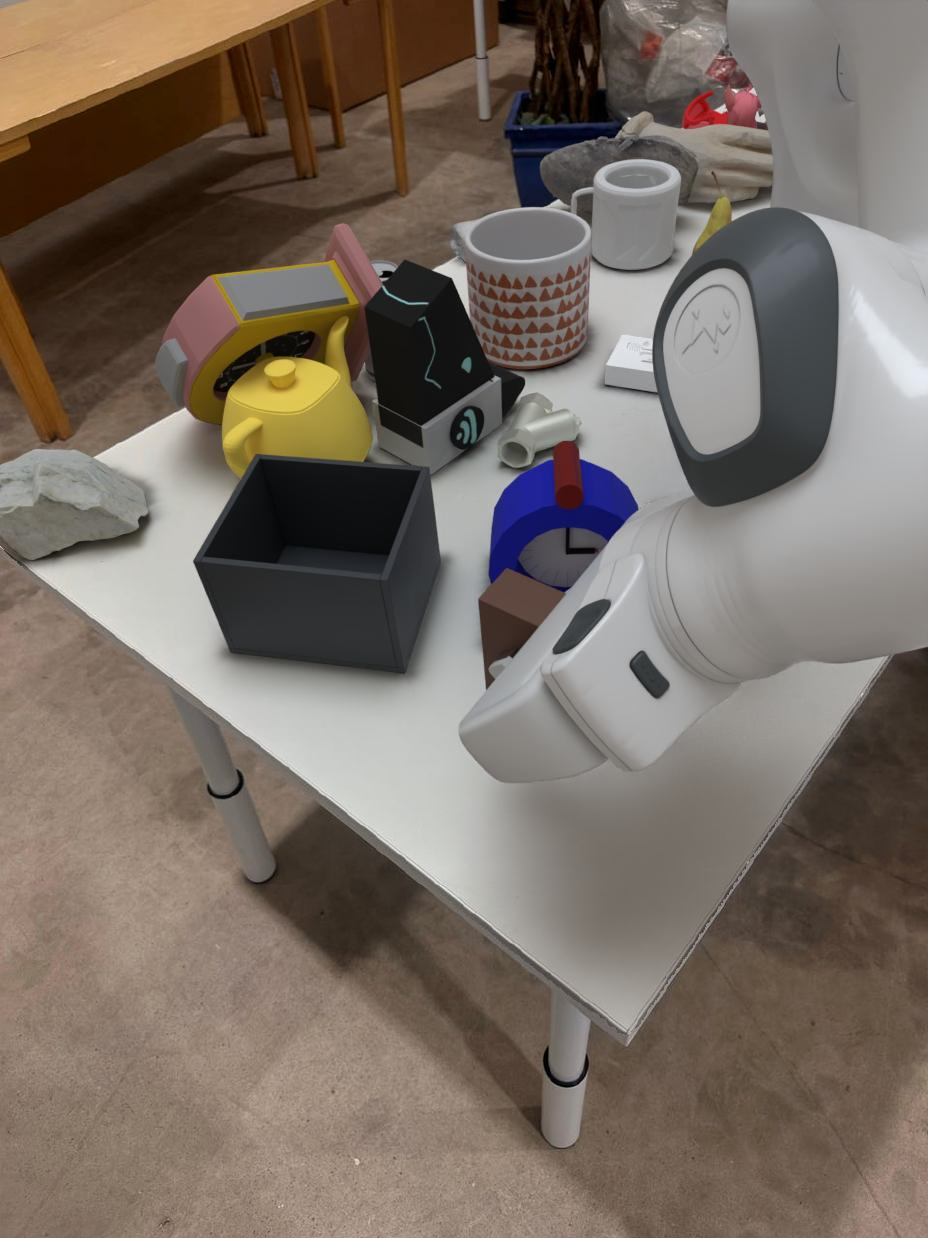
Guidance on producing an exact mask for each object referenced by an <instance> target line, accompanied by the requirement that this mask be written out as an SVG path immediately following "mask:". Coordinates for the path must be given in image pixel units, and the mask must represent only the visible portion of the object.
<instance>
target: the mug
mask: <svg viewBox="0 0 928 1238" xmlns="http://www.w3.org/2000/svg"><path fill="white" fill-rule="evenodd" d="M680 185H681V175H680V173H679V171H678V170H677V169H676V168H675V167H673V166H671V165H669V164H667V163H664V162H660V161H655V160H646V159H633V160H624V161H619V162H615V163H612V164H609V165H606V166H604V167H603V168H601V169H600V170H599V171H598V172H597V174H596V175H595V177H594V184H593V187H590V188H584V189H580V190H577V191H576V192H574V193H573V194H572V199H571V206H570V213H572V214H575V215H577V216H578V209H577V199H576V198H577V197H578V196H581V195H584V194H590V193H592V194H593V212H592V213H591V214H592V215H591V233H592V238H591V256H593V258H594V259H595V260H597V262H599V263H600V264H602V265H603V266H606V267H609V268H612V269H617V270H625V271H633V270H634V271H636V270H644V269H650V268H654V267H657V266H659V265H661V264H663V263H665V262H666V261H667V260H668V259H669V258H670V257H671V256H672V255H673V253H674V246H675V233H676V225H677V224H676V223H677V215H678V206H679V205H678V199H679V193H680Z"/></svg>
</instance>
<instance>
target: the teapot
mask: <svg viewBox="0 0 928 1238" xmlns="http://www.w3.org/2000/svg"><path fill="white" fill-rule="evenodd" d="M348 320H349V318H348V317H347V316H344V317H342V318H340V319H338V320H337V321H336V322H335V323H334V325H333V326H332V328H331V330H330V332H329V336H328V340H327V345H326V355H325V363H324V364H322V363H319V362H316V361H313V360H309V359H303V358H296V357H272V358H268V359H265V360H263V361H261V362H260V363H258V364H257V365H255V366H254V367H252V368H251V369H250V370H249V371H247V372H246V373H245V374H244V375H243V376H241V377H240V378H239V379H238V380H237V381H236V382H235V383H234V384H233V385H232V387H231V388H230V389H229V391H228V394H227V398H226V403H225V408H224V414H223V422H222V425H221V440H222V450H223V453H224V458H225V461H226V464H227V465H228V467H229V469H230V470H231V471H232V472H233V473H234V474H235V475H236V476H237V477H238V478H240V479H241V478H242V476H243V475H244V473H245V471H246V470H247V468H248V466H249V464H250V463H251V461H252V459H253V458H254V456H255V454H262V455H263V454H264V455H277V456H291V457H304V458H318V459H331V460H345V461H358V462H365V459H366V458H367V456H368V454H369V452H370V450H371V447H372V444H373V439H374V436H373V430H372V426H371V423H370V419H369V417H368V415H367V412H366V410H365V407H364V406H363V404H362V403H361V401H360V398H359V397H358V396H357V395H356V393H355V391H354V390H353V389H352V382H351V379H350V373H349V369H348V365H347V361H346V357H345V352H344V334H345V331H346V327H347V324H348Z"/></svg>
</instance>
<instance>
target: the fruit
mask: <svg viewBox="0 0 928 1238" xmlns="http://www.w3.org/2000/svg"><path fill="white" fill-rule="evenodd" d="M711 174H712V175H713V177H714V179H715V181H716V184H717V186H718V190H719V192H720V199H718V200H717V202H715V204H714V206H713V208H712V210H711V212H710V215H709V217H708V220H707V223H706V224H705V228H704V229H703V231H702V232H701V234H700V235H699V237H698V238H697V240H696V241H695V244H694V246H693V249H692V252H691V256H692V255H693V254H694V252H695V251H696V250H697V249H698V248H699V247H700V246H701V245H702V244H703V243H704V242H705V241H706V240H707V239H709V238H710V237H711V236H712V235H713V234H714V233H716V232H717V231H718V230H719V229H721V228H722V227H724V226H725V225H727V224H728V223H730V222H732V221H733V212H732V211H733V210H732V206H731V202H729V200H728V198H727V197H725V196H723V194H722V192H721V189H720V186H719V182H718V179H717V176H716V174H715V172H714V171H712V172H711Z"/></svg>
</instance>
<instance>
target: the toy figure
mask: <svg viewBox="0 0 928 1238" xmlns="http://www.w3.org/2000/svg"><path fill="white" fill-rule="evenodd" d="M752 90H753V86H752V84H751V83H749V85H748V88H747V87H744V88H743V91H739V92H736V93H735V94H734V92H733V91H732V88H731V83H730V82H729V83H728V85H727V86H726V88H725V91H724V95H723V100H724V105H725V109H726V111H723V112H722V113H724V114H725V113H726V112H728V114H727V124H728V125H735V126H742V127H749V128H755V129H757V122H758V121H757V119H756V116H757V113H758V108H762V106H761V103H760V101H759V98H758V96H757V94H754V93H753V92H751V91H752Z"/></svg>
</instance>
